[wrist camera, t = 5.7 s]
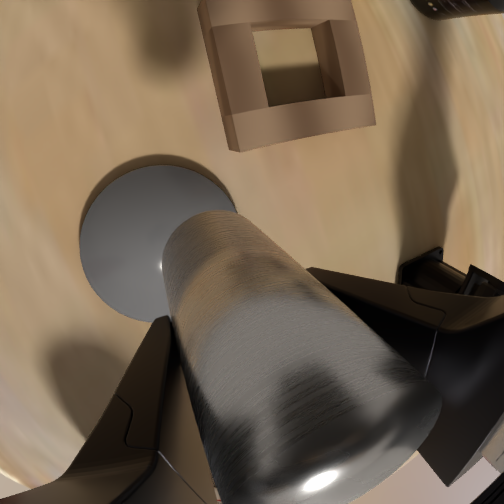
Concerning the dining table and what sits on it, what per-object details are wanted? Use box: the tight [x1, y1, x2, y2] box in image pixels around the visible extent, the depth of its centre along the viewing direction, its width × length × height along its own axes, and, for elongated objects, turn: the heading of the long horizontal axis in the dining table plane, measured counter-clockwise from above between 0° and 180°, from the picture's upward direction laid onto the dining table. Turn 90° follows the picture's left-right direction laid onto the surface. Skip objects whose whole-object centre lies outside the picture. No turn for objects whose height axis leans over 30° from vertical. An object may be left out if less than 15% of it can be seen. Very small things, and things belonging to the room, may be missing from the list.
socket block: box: [197, 0, 376, 152], centre depth 18 cm, size 10×10×2 cm
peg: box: [162, 210, 442, 504], centre depth 8 cm, size 4×4×9 cm
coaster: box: [80, 165, 237, 323], centre depth 21 cm, size 11×11×1 cm
